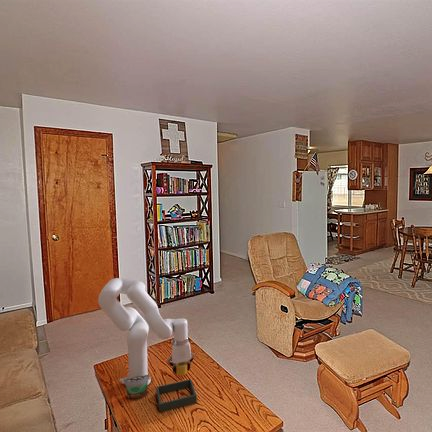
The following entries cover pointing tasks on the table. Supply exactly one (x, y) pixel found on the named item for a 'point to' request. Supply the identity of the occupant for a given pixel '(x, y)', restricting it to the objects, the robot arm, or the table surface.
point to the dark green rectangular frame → (177, 402)
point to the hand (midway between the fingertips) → (181, 370)
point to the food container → (136, 387)
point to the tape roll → (181, 368)
